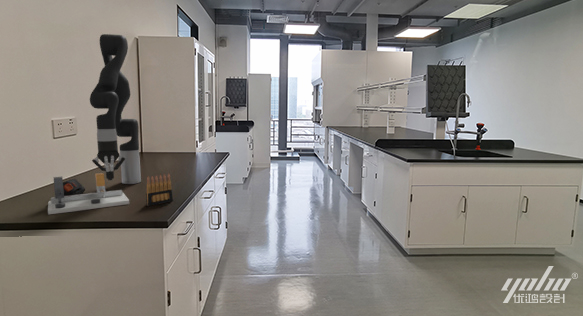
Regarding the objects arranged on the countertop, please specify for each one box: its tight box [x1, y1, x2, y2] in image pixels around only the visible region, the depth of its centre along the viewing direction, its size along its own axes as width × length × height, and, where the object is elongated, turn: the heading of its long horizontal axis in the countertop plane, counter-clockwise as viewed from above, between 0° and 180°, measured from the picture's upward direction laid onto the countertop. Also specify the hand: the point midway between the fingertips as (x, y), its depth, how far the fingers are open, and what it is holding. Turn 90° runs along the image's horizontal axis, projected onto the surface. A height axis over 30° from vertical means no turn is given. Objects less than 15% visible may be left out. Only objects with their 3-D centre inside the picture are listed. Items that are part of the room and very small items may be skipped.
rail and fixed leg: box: [50, 176, 123, 204], centre depth 150 cm, size 11×26×10 cm, turn 122°
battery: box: [63, 178, 86, 196], centre depth 165 cm, size 12×8×7 cm
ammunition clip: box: [145, 173, 174, 207], centre depth 152 cm, size 11×2×12 cm, turn 135°
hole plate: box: [47, 192, 130, 215], centre depth 151 cm, size 16×28×3 cm, turn 122°
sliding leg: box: [94, 172, 106, 198], centre depth 152 cm, size 11×3×8 cm, turn 32°
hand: (110, 179), depth 157 cm, fingers closed
